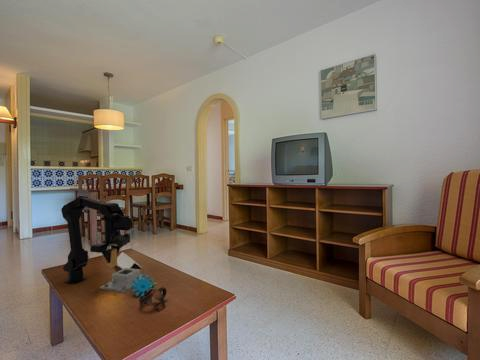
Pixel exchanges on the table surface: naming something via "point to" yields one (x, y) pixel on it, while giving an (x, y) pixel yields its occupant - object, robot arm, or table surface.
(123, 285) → the bracket collar
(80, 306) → the table surface
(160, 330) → the table surface
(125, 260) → the z bracket
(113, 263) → the wedge pin
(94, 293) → the table surface
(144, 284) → the gear
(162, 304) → the dark brown loop tangle
